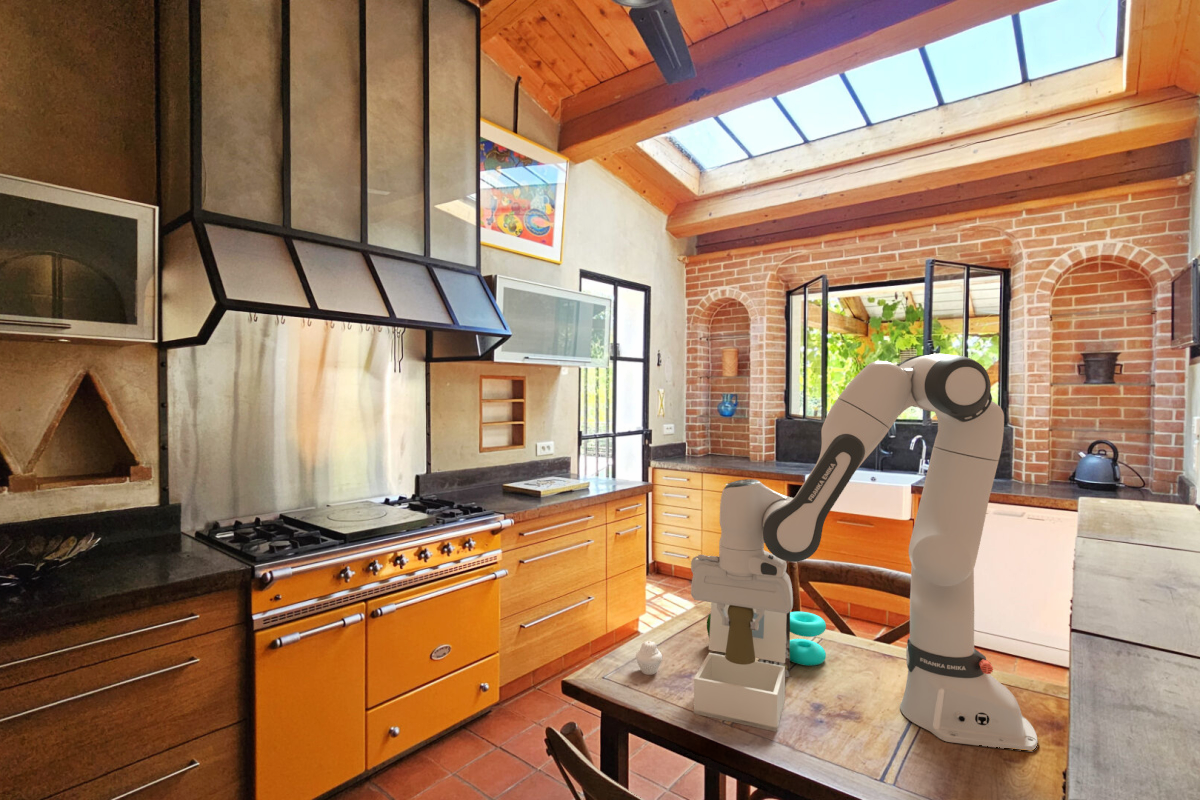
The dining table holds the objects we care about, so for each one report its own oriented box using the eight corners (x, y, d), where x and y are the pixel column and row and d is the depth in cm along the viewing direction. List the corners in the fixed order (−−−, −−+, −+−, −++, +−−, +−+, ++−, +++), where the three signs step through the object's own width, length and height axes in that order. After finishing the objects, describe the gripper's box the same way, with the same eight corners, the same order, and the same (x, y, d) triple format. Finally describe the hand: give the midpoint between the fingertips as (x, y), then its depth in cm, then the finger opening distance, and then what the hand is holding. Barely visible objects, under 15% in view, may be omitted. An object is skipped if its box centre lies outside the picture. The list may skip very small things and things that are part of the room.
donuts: (823, 611, 147) (828, 626, 137) (822, 651, 147) (828, 669, 137) (781, 608, 149) (783, 622, 140) (781, 647, 149) (783, 665, 140)
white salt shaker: (630, 670, 137) (630, 640, 137) (650, 663, 140) (650, 633, 140) (647, 680, 132) (648, 649, 132) (668, 673, 135) (668, 642, 135)
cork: (745, 667, 116) (746, 611, 116) (719, 657, 121) (719, 604, 121) (760, 657, 121) (761, 604, 121) (734, 648, 125) (735, 596, 125)
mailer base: (784, 699, 123) (784, 666, 123) (777, 731, 112) (777, 694, 112) (708, 684, 130) (708, 652, 130) (693, 713, 118) (693, 678, 118)
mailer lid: (784, 663, 123) (785, 662, 124) (786, 600, 126) (787, 599, 126) (708, 649, 129) (709, 649, 130) (711, 589, 132) (712, 589, 133)
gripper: (687, 557, 122) (686, 624, 122) (791, 569, 114) (790, 641, 114) (695, 549, 128) (694, 613, 128) (794, 561, 119) (793, 629, 120)
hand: (740, 627), depth 121 cm, fingers closed on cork, 4 cm apart
